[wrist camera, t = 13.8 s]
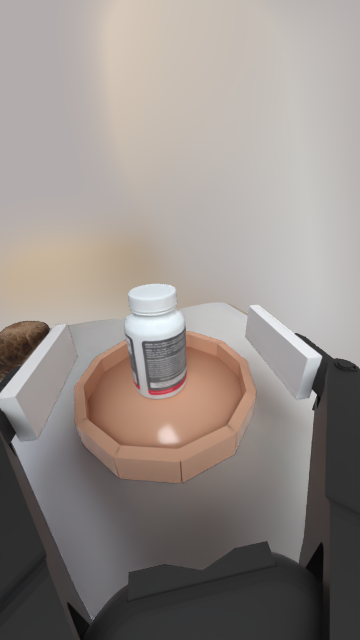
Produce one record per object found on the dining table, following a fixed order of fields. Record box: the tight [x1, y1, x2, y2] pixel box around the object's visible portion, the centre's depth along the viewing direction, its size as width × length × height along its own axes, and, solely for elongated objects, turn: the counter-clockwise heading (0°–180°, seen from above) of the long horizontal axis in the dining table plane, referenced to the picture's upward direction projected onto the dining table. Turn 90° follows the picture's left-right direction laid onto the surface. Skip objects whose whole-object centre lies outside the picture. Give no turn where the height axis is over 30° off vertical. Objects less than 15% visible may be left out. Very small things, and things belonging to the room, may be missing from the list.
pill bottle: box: [124, 284, 187, 399], centre depth 20 cm, size 5×5×10 cm
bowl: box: [74, 331, 257, 483], centre depth 21 cm, size 16×16×2 cm
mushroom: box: [0, 321, 50, 381], centre depth 25 cm, size 8×8×6 cm
